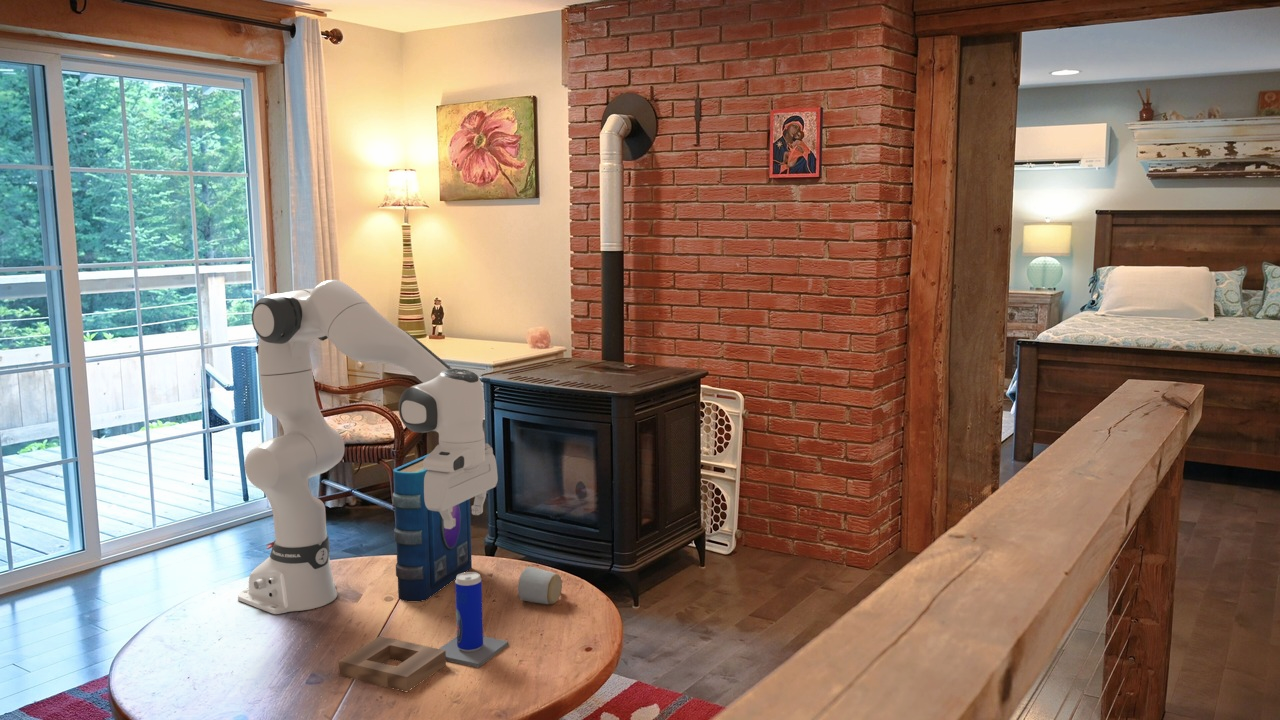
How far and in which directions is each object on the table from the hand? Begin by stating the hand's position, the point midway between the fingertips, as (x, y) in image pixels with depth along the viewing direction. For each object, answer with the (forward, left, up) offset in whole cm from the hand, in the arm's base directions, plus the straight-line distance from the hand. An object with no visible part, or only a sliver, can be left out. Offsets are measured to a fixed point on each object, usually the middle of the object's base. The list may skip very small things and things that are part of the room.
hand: (463, 520), depth 189 cm
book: (-27, +27, -27) cm, 47 cm away
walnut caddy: (-8, -13, -27) cm, 31 cm away
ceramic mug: (+1, +29, -28) cm, 40 cm away
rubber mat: (+1, 0, -27) cm, 27 cm away
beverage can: (+1, 0, -27) cm, 27 cm away
